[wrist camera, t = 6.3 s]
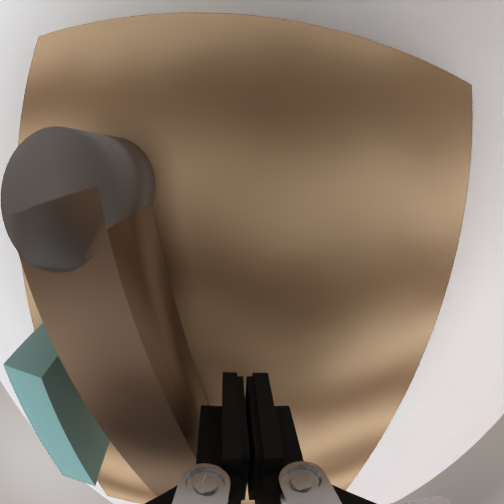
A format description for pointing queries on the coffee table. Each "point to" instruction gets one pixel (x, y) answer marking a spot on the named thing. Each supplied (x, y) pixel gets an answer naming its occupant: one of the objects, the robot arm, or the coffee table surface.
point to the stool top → (280, 204)
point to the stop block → (56, 408)
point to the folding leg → (106, 292)
